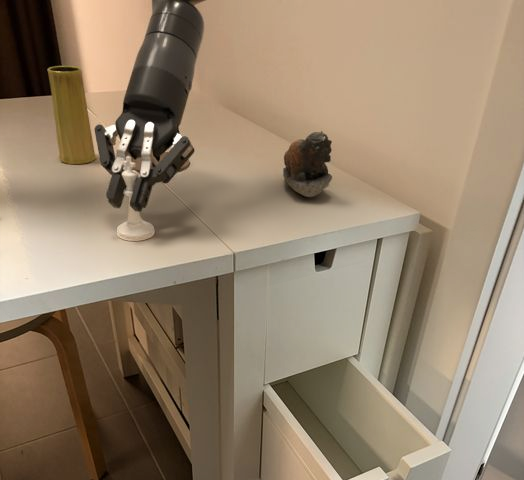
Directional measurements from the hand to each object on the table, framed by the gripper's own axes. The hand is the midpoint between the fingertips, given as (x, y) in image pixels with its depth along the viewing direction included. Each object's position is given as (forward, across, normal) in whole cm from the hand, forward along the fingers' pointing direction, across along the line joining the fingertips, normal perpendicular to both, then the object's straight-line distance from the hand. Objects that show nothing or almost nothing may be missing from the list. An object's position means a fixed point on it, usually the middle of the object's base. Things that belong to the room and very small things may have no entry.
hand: (124, 206), depth 69 cm
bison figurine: (-16, +17, +22) cm, 32 cm away
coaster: (-17, -10, +24) cm, 31 cm away
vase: (-15, -23, +21) cm, 35 cm away
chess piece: (+2, 0, +5) cm, 5 cm away
